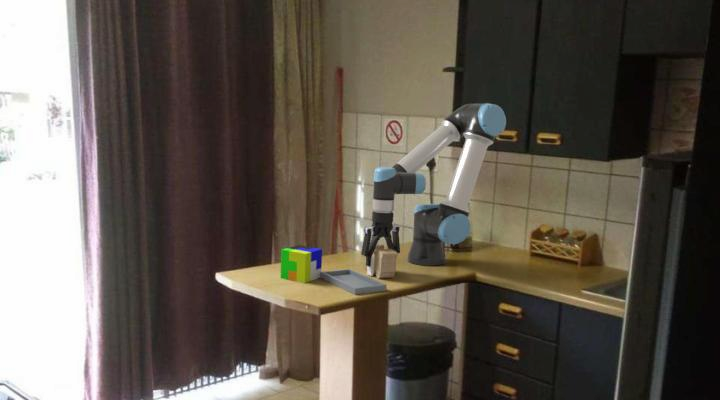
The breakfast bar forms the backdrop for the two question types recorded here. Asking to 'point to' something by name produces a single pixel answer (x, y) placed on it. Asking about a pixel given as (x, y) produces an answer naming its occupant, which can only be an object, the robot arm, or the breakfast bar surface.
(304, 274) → the puzzle toy
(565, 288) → the breakfast bar surface
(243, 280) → the breakfast bar surface
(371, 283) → the tray
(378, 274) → the toy train
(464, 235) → the robot arm
